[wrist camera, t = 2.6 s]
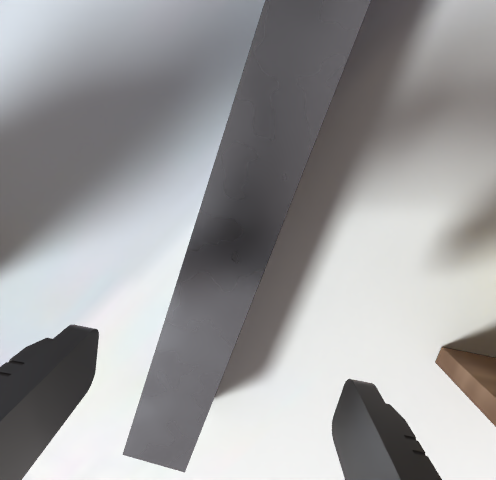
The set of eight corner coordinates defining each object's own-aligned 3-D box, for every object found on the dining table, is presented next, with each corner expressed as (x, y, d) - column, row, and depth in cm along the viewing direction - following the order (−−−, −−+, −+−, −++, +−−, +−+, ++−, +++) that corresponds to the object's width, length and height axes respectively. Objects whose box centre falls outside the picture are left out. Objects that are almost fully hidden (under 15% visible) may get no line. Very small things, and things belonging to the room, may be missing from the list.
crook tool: (152, 388, 17) (122, 454, 13) (364, -265, 10) (436, -543, 6) (335, 444, 18) (357, 521, 14) (650, -124, 11) (874, -289, 7)
